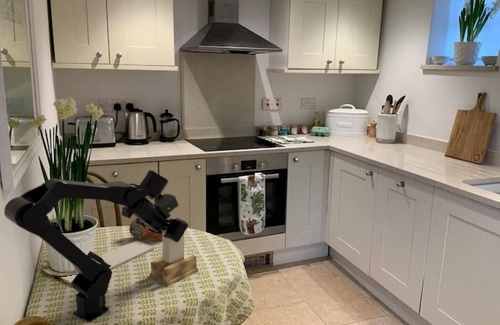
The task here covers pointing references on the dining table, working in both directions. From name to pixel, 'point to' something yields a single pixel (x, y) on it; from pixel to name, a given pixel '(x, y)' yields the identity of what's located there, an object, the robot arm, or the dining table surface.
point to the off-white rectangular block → (172, 249)
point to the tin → (143, 232)
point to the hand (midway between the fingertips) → (176, 236)
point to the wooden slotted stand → (173, 269)
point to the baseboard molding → (121, 256)
